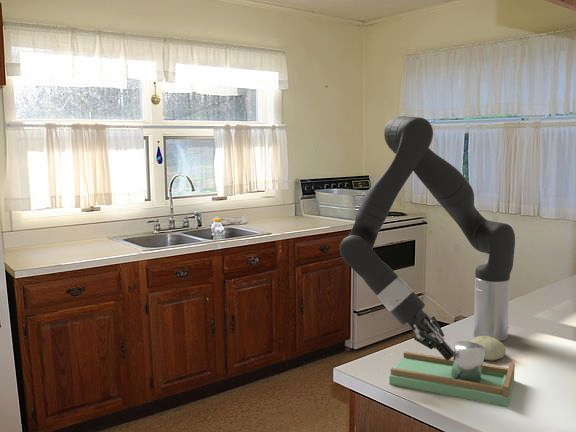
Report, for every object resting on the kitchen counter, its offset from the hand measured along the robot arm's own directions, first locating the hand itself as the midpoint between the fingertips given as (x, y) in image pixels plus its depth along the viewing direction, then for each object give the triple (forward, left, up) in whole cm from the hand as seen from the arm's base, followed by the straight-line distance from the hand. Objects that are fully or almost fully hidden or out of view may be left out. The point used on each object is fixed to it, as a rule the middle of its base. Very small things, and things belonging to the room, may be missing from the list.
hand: (451, 357), depth 129 cm
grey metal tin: (0, +3, -4) cm, 5 cm away
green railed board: (0, 0, -6) cm, 6 cm away
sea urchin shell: (-20, +5, -6) cm, 22 cm away
